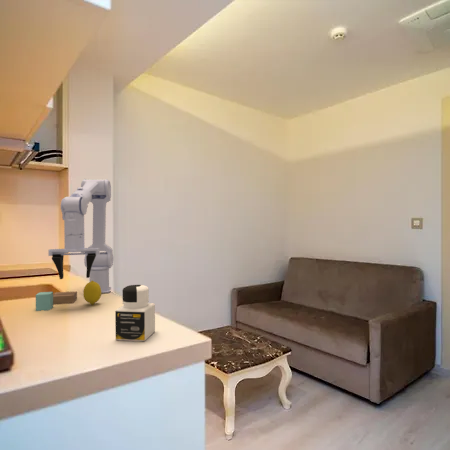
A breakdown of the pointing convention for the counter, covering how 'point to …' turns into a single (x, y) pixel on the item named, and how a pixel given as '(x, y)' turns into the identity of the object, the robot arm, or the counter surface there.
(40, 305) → the teal block
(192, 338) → the counter surface
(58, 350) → the counter surface
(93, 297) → the lemon
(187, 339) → the counter surface
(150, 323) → the medicine bottle
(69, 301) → the walnut block
